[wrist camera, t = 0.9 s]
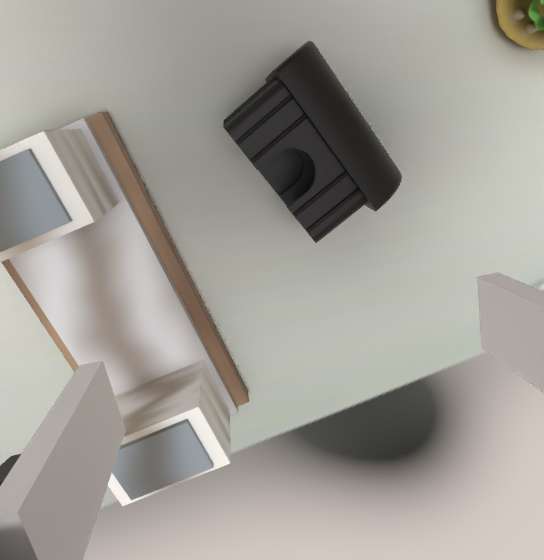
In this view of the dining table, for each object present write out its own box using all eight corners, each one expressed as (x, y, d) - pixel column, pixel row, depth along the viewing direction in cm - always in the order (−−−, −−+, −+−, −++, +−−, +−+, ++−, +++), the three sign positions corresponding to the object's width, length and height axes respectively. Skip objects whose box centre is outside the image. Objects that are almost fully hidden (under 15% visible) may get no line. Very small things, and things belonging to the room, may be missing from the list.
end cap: (381, 168, 33) (418, 179, 27) (305, 228, 34) (324, 253, 28) (299, 49, 30) (319, 29, 24) (218, 120, 31) (217, 119, 25)
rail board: (107, 112, 30) (62, 108, 22) (248, 391, 38) (253, 464, 30) (-41, 176, 30) (-138, 197, 22) (130, 438, 39) (104, 524, 30)
